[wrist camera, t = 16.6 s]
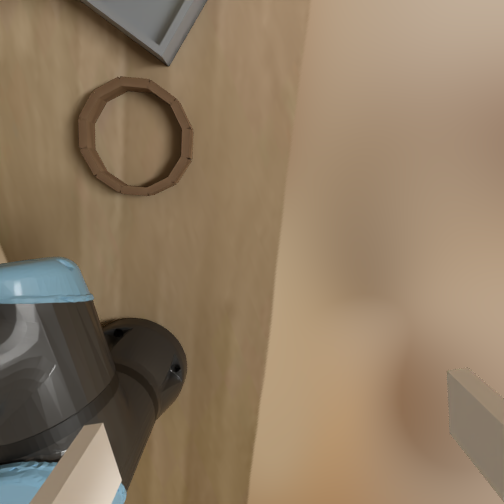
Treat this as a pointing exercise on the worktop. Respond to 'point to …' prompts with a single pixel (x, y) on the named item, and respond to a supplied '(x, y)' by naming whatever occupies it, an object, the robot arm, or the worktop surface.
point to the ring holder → (88, 133)
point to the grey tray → (151, 22)
